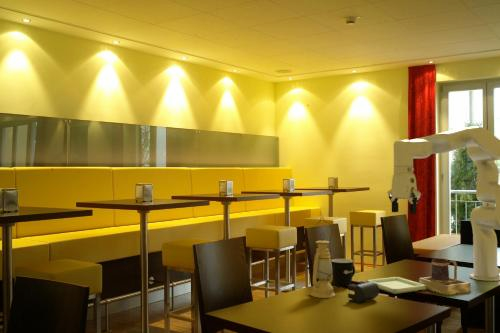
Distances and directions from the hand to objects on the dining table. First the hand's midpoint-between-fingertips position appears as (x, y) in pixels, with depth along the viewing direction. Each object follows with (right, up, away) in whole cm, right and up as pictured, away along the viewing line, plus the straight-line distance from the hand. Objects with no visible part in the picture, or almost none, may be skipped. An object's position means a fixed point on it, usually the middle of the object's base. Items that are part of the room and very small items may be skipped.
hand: (403, 212), depth 203 cm
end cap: (-21, -31, -19) cm, 42 cm away
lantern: (-34, -31, -10) cm, 47 cm away
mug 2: (+16, -31, -2) cm, 34 cm away
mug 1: (-22, -31, +8) cm, 39 cm away
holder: (+16, -30, -2) cm, 34 cm away
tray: (-3, -31, +2) cm, 31 cm away
